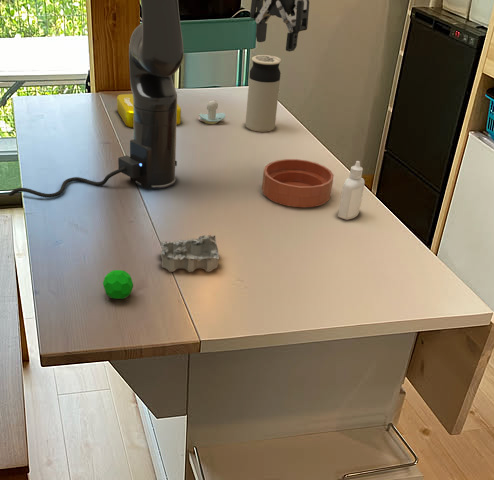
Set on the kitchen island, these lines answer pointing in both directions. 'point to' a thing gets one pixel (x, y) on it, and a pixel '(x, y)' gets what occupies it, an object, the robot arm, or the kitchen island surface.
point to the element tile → (128, 112)
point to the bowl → (297, 183)
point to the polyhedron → (118, 284)
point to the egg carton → (190, 254)
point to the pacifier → (212, 114)
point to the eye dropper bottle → (352, 193)
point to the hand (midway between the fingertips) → (275, 46)
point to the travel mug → (263, 93)
